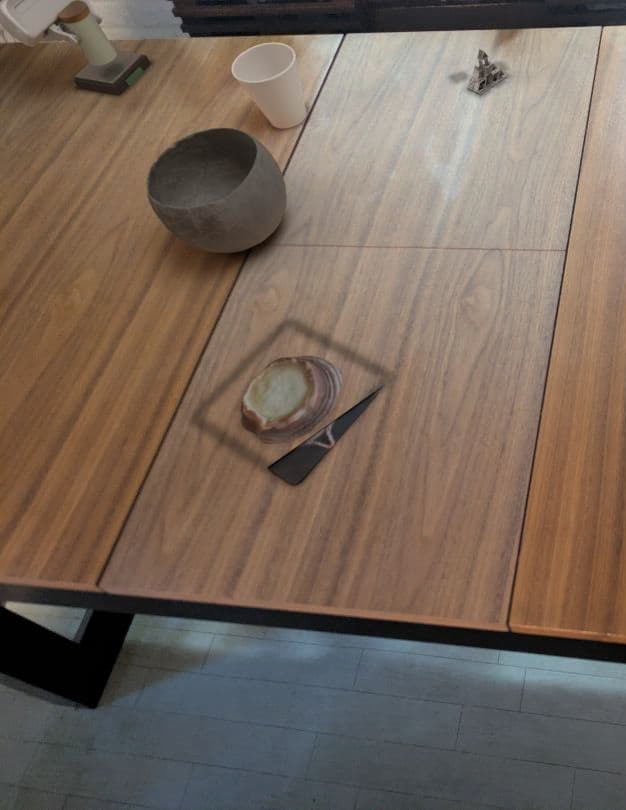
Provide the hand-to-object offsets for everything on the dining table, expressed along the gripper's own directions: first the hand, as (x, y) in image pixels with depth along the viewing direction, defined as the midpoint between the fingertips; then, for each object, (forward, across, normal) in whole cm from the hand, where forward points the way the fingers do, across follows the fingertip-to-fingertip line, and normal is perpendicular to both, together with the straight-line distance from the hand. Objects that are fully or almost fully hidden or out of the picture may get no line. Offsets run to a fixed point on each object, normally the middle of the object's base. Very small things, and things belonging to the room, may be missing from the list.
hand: (89, 33), depth 142 cm
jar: (+3, 0, -4) cm, 5 cm away
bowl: (+44, +32, +30) cm, 62 cm away
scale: (+7, 0, -8) cm, 10 cm away
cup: (+39, +4, +24) cm, 46 cm away
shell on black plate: (+63, +61, +48) cm, 100 cm away
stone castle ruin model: (+63, -16, +48) cm, 81 cm away
